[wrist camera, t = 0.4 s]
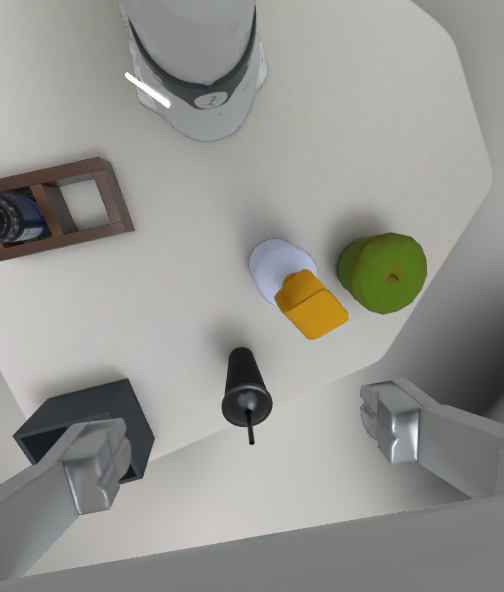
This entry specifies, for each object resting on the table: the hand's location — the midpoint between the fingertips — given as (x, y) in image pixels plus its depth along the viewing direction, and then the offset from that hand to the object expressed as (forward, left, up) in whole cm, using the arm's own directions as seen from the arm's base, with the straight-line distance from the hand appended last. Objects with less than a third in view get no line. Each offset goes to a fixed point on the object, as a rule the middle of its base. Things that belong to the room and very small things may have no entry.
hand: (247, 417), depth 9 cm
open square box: (+27, -32, -38) cm, 56 cm away
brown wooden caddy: (-12, -23, -38) cm, 46 cm away
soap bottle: (+4, +8, -38) cm, 39 cm away
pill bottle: (-12, -27, -38) cm, 48 cm away
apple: (+8, +24, -38) cm, 45 cm away
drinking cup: (+21, -2, -38) cm, 43 cm away
